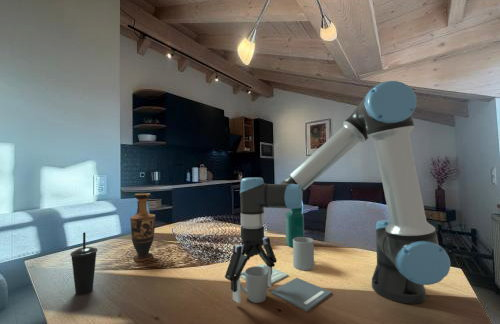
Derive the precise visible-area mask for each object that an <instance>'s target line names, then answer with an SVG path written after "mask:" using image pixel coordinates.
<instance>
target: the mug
mask: <svg viewBox="0 0 500 324" xmlns="http://www.w3.org/2000/svg"><path fill="white" fill-rule="evenodd" d="M314 243H315V241H314V239H313V238H311V237H306V236H304V237H296V238H294V239H293V247H292V253H293V254H292V261H293V262H292V263H293V264H292V265H293V267H294V268H295V269H297V270H299V271H304V272H306V271H311V270H313V269H314V268H315V253H314V252H315V251H314V249H315V247H314V245H315V244H314Z"/></svg>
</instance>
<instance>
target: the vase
mask: <svg viewBox="0 0 500 324" xmlns="http://www.w3.org/2000/svg"><path fill="white" fill-rule="evenodd" d="M134 197H135V199H136V200H137V209H136V212H135V214H134V215H132V216H130V217H129V221H130V222H129V223H130V232H131V233H130V234H131V235H130V236H131V242H132V246H133V247H134V249H135V251H136V253H137V254H136V255H134V256H133V258H132V260H133V261H134V260H135V261H134V262H138V261H141V262H146V261H145V260H147V261H149V260H151V259H153V258H154V253H152V252H150V251H151V247H152V244H153V242H154V237H155V230H156V214H153V213H149V212H148V208H147V202H148V200H149V199H150V197H151V193H149V192H148V193H146V192H145V193H141V192H140V193H135V194H134ZM148 259H149V260H148Z"/></svg>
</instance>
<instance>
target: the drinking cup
mask: <svg viewBox="0 0 500 324" xmlns="http://www.w3.org/2000/svg"><path fill="white" fill-rule="evenodd" d="M97 252H98V248H97V247H92V246H86V232H83V233H82V247H79V248H77V249H75V250H74V251H71V252H70V257H71V263H72V275H73V282H74V290H75V295H76V296H84V295H87V294H89V293H91V292H92V291H93V289H94V280H95V270H96V261H97Z"/></svg>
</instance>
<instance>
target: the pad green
mask: <svg viewBox="0 0 500 324" xmlns="http://www.w3.org/2000/svg"><path fill="white" fill-rule="evenodd" d="M264 265H265V263H260V264H257V265H256V266H259V267H264ZM244 271H245V270H242V272H244ZM242 272H241V273H242ZM288 276H289V273H286V272H285V271H284V272H283V271H282V270H279V269H277V268H274V267H272V275H271V285H273V284H274V283H277V282H279V281H280V280H283V279H284V278H287V277H288ZM240 278H241V279H242V280H245V281H246V279H245V276H244V275H241V276H240Z"/></svg>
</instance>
